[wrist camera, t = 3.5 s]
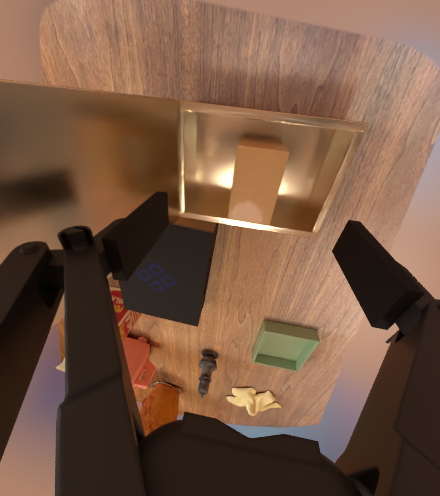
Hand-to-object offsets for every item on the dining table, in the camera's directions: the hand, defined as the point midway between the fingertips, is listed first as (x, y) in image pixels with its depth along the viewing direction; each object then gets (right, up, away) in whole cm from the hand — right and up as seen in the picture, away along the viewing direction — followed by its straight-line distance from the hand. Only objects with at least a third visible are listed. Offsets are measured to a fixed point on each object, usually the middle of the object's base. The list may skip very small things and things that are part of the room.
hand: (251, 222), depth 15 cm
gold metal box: (+3, +10, +15) cm, 19 cm away
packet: (+3, +10, +14) cm, 18 cm away
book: (-13, -4, +28) cm, 31 cm away
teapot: (-32, -34, +53) cm, 70 cm away
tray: (+15, -28, +40) cm, 50 cm away
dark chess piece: (-6, -36, +50) cm, 62 cm away
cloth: (+12, -61, +64) cm, 89 cm away
